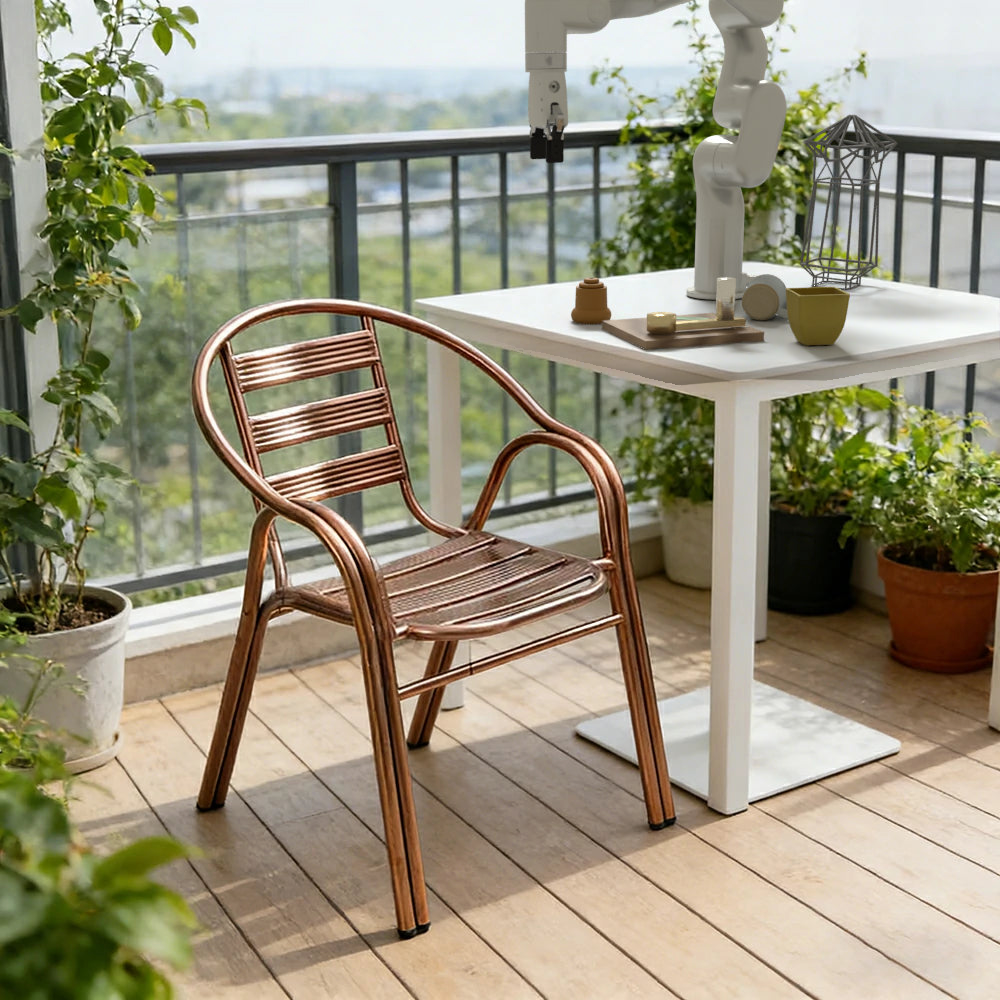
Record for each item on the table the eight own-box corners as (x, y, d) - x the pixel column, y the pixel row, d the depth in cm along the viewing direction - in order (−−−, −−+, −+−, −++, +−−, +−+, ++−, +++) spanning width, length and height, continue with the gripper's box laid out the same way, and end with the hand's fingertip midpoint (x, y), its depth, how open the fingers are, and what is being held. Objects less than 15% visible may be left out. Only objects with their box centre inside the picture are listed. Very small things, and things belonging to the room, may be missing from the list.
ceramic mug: (738, 320, 262) (741, 279, 259) (746, 313, 269) (748, 272, 267) (796, 324, 258) (799, 282, 256) (802, 316, 266) (805, 275, 263)
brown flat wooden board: (712, 320, 262) (713, 312, 261) (763, 340, 244) (764, 331, 243) (601, 328, 256) (601, 320, 255) (645, 349, 237) (645, 340, 237)
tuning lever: (653, 334, 240) (654, 286, 237) (642, 329, 244) (642, 281, 242) (749, 327, 245) (751, 279, 242) (736, 322, 249) (738, 275, 247)
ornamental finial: (588, 326, 258) (562, 321, 264) (619, 321, 262) (593, 316, 268) (588, 282, 256) (562, 278, 262) (620, 278, 260) (594, 274, 266)
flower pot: (782, 339, 245) (784, 287, 242) (831, 337, 246) (834, 285, 243) (796, 349, 237) (799, 295, 234) (847, 347, 237) (851, 294, 234)
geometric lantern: (817, 278, 308) (831, 112, 297) (887, 286, 299) (903, 115, 289) (786, 287, 296) (799, 114, 285) (858, 296, 287) (874, 117, 276)
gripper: (581, 63, 249) (581, 163, 254) (551, 63, 265) (551, 157, 270) (540, 64, 247) (541, 165, 252) (512, 63, 263) (513, 158, 268)
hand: (546, 160), depth 261 cm, fingers open, 9 cm apart
